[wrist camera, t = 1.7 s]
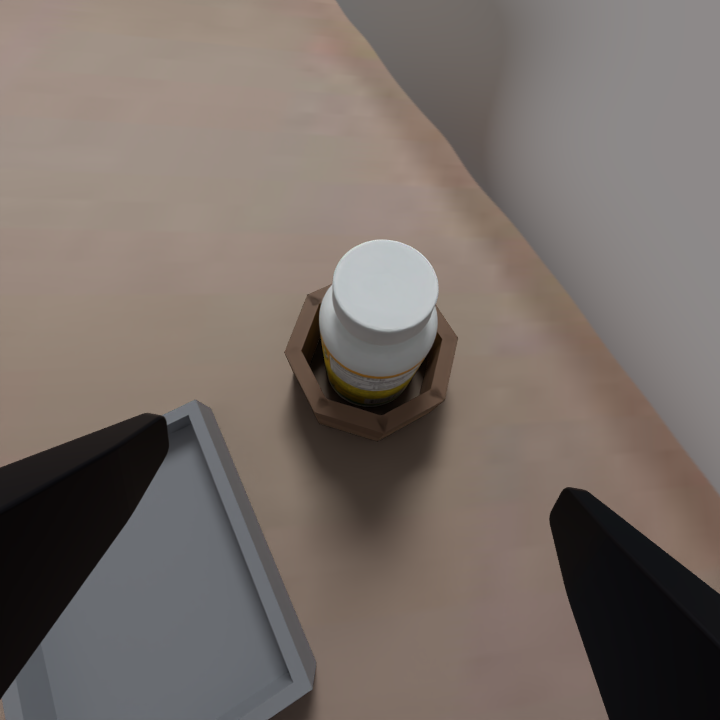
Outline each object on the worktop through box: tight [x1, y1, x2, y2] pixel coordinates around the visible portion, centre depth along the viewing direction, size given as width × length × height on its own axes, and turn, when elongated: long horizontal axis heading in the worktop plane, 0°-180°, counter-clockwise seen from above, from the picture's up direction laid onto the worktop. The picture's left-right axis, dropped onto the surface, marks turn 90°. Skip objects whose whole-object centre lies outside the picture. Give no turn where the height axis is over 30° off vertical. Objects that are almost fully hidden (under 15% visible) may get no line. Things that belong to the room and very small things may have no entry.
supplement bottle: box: [319, 240, 438, 407], centre depth 18 cm, size 5×5×10 cm
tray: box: [2, 400, 316, 720], centre depth 17 cm, size 14×11×2 cm
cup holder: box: [284, 284, 458, 441], centre depth 20 cm, size 9×9×4 cm
